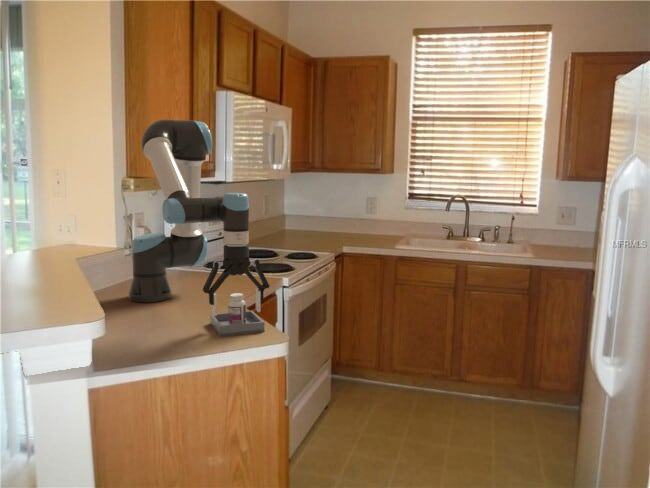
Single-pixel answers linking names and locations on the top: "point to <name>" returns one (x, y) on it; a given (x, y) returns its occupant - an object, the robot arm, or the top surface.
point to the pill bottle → (236, 309)
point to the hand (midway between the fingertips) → (236, 312)
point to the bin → (225, 329)
